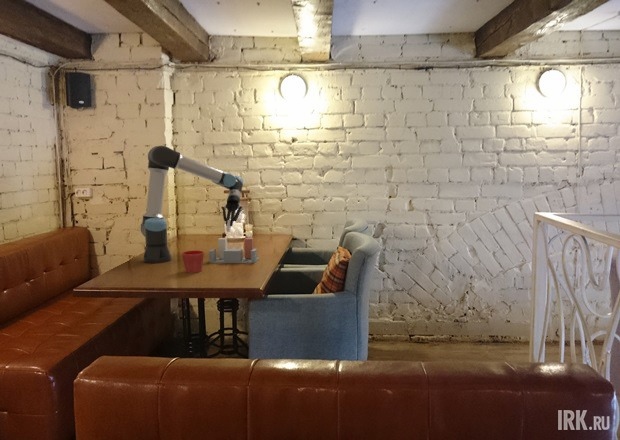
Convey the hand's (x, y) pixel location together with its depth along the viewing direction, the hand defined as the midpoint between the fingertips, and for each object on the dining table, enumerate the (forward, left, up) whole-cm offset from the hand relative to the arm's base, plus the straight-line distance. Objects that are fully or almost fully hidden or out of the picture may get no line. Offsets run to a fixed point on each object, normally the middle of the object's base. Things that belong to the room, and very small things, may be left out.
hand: (228, 230), depth 294 cm
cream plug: (0, -13, -15) cm, 20 cm away
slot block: (+7, -17, -15) cm, 23 cm away
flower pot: (-7, -44, -15) cm, 47 cm away
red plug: (+15, -13, -15) cm, 25 cm away
